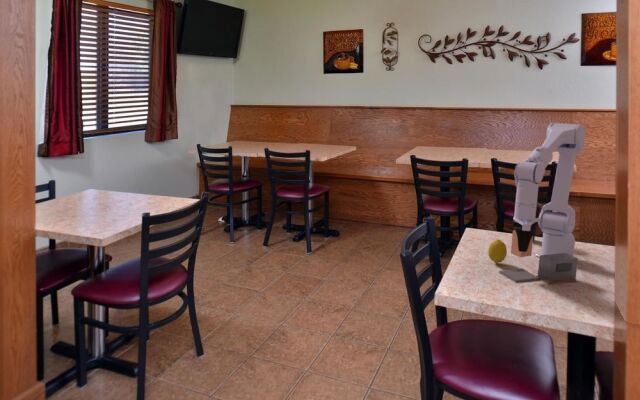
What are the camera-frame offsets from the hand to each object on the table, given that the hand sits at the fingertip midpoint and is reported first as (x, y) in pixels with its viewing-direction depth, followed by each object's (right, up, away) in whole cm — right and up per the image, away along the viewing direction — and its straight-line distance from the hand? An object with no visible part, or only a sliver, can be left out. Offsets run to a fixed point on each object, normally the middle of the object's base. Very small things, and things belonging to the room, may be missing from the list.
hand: (521, 248), depth 151 cm
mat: (0, -9, +2) cm, 9 cm away
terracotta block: (0, -2, 0) cm, 2 cm away
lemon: (-3, -6, +13) cm, 15 cm away
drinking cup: (+17, -1, +38) cm, 42 cm away
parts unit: (+10, -9, -1) cm, 13 cm away
